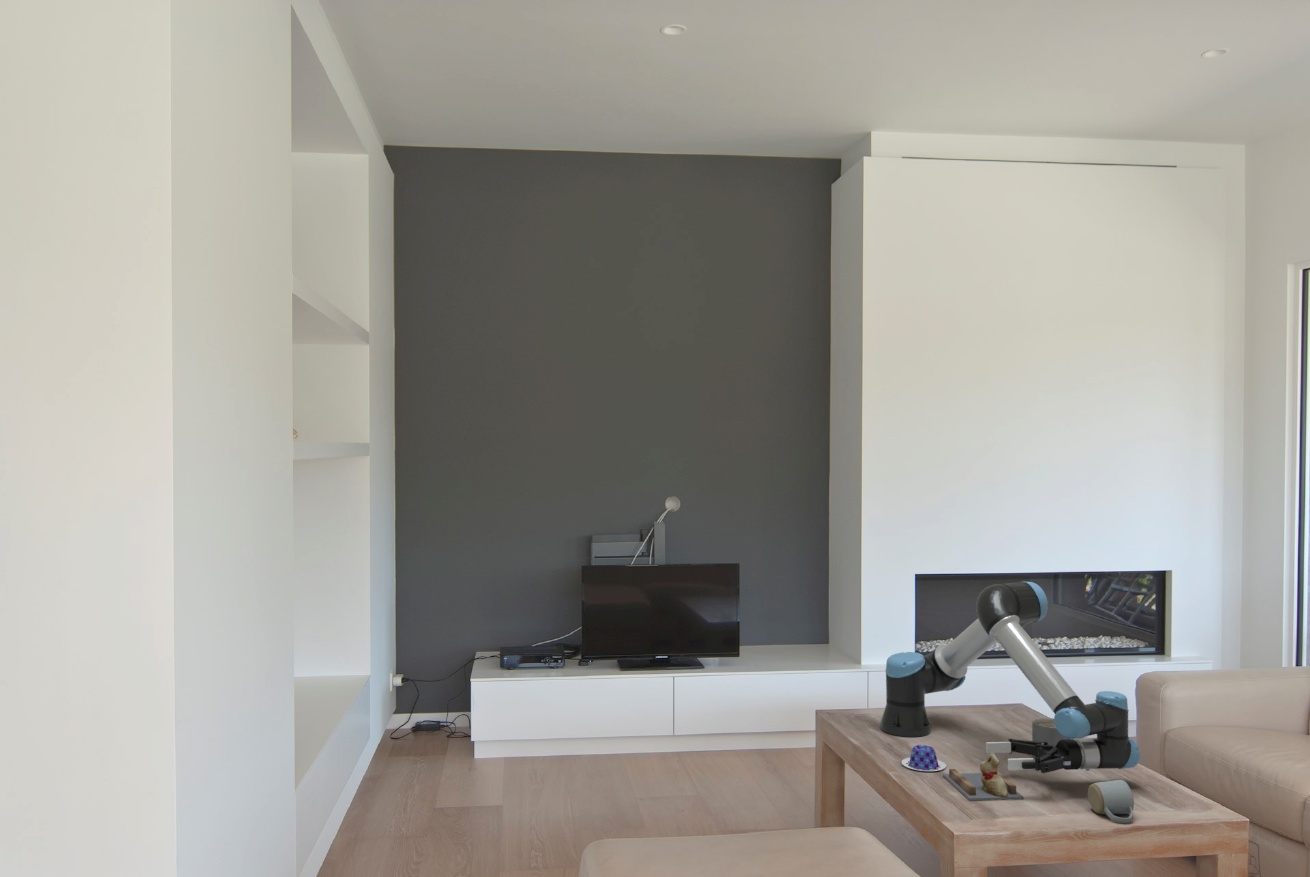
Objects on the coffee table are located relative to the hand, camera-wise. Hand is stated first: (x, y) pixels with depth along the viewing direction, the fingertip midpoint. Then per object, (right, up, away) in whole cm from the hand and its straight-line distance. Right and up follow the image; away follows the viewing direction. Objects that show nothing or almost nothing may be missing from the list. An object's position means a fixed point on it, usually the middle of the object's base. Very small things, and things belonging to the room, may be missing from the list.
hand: (996, 756), depth 246 cm
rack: (-4, -8, 0) cm, 9 cm away
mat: (-4, -8, 0) cm, 9 cm away
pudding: (-14, -9, +17) cm, 24 cm away
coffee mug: (+26, -9, +24) cm, 36 cm away
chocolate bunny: (-2, -8, -5) cm, 9 cm away
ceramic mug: (+21, -8, -19) cm, 30 cm away
